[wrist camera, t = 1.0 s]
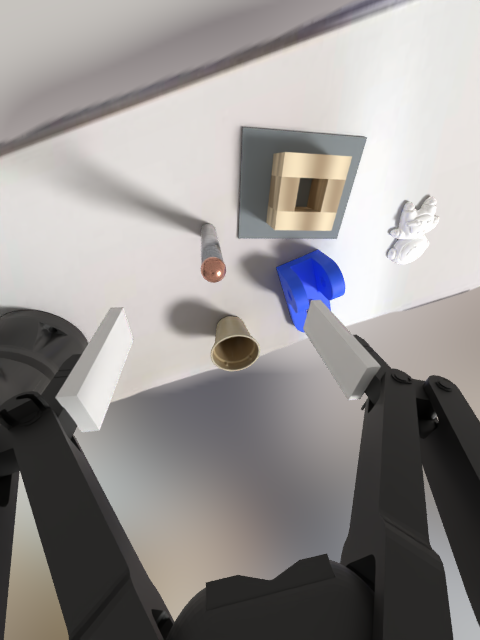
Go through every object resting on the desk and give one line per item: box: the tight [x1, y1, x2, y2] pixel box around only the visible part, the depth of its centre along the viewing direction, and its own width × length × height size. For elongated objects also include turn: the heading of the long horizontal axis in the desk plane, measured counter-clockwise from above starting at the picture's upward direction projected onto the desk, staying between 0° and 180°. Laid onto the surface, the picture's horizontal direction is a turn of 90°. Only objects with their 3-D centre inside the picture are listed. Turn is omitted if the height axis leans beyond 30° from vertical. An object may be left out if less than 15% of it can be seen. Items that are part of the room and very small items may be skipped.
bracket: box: [276, 250, 345, 332], centre depth 42 cm, size 18×8×9 cm, turn 21°
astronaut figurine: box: [387, 197, 439, 264], centre depth 40 cm, size 9×12×3 cm
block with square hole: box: [266, 152, 352, 231], centre depth 31 cm, size 9×9×5 cm
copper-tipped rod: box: [201, 224, 226, 283], centre depth 28 cm, size 3×3×17 cm
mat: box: [238, 127, 367, 239], centre depth 33 cm, size 18×14×1 cm
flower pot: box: [211, 316, 260, 371], centre depth 44 cm, size 9×9×9 cm
